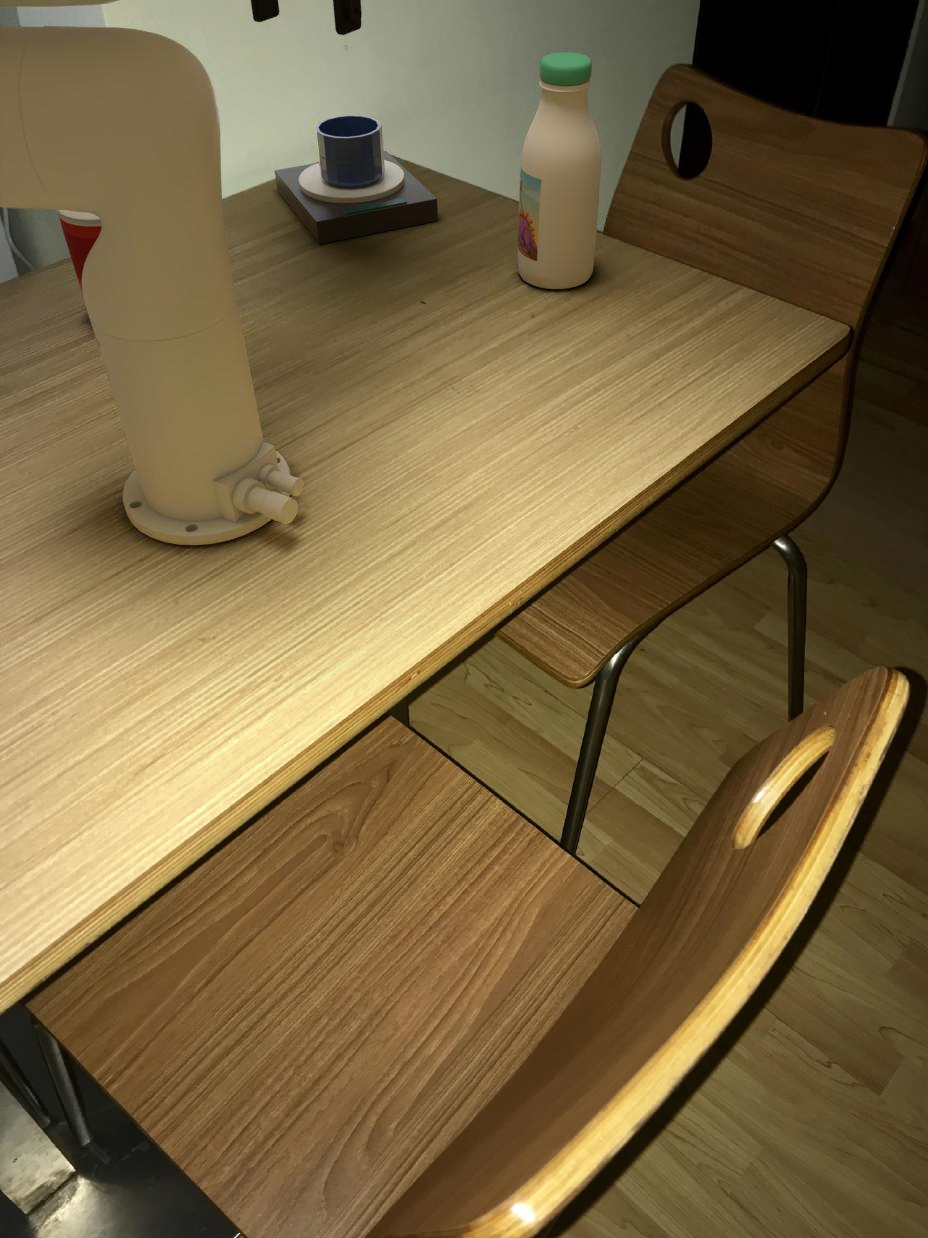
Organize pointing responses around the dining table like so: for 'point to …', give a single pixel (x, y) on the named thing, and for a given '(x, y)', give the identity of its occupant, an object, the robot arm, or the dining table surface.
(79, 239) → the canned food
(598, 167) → the milk bottle
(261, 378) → the dining table surface
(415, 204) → the kitchen scale
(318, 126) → the cup
